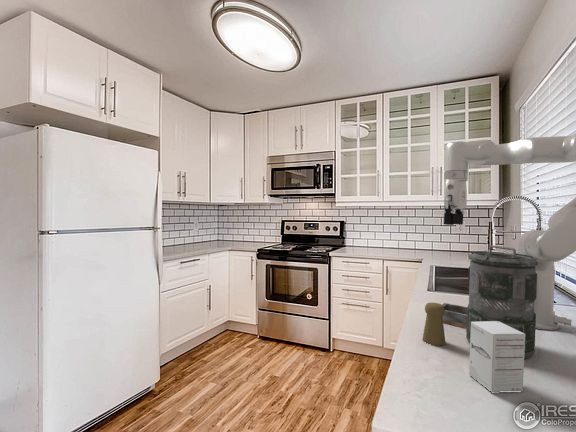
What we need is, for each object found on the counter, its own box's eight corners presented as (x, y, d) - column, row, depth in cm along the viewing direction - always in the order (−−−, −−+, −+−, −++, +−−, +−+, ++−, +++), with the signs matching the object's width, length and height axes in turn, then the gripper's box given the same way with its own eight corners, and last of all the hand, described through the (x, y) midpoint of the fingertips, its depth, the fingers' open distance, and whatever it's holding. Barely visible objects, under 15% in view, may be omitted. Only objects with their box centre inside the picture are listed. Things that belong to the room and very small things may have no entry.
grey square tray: (475, 321, 108) (476, 309, 108) (468, 329, 101) (469, 316, 101) (444, 314, 115) (444, 302, 115) (435, 321, 108) (436, 308, 108)
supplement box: (467, 375, 72) (469, 320, 72) (498, 374, 73) (499, 320, 73) (490, 394, 65) (493, 333, 65) (524, 393, 66) (526, 333, 65)
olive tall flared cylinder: (440, 337, 94) (441, 300, 93) (449, 346, 88) (450, 307, 87) (419, 336, 94) (420, 300, 94) (426, 345, 88) (427, 306, 88)
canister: (453, 339, 93) (456, 244, 92) (491, 332, 98) (494, 242, 98) (507, 364, 78) (511, 251, 77) (548, 355, 84) (552, 249, 83)
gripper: (459, 174, 105) (456, 225, 106) (474, 178, 117) (472, 224, 118) (436, 175, 110) (433, 224, 111) (452, 179, 123) (450, 223, 123)
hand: (453, 224), depth 114 cm, fingers open, 9 cm apart
